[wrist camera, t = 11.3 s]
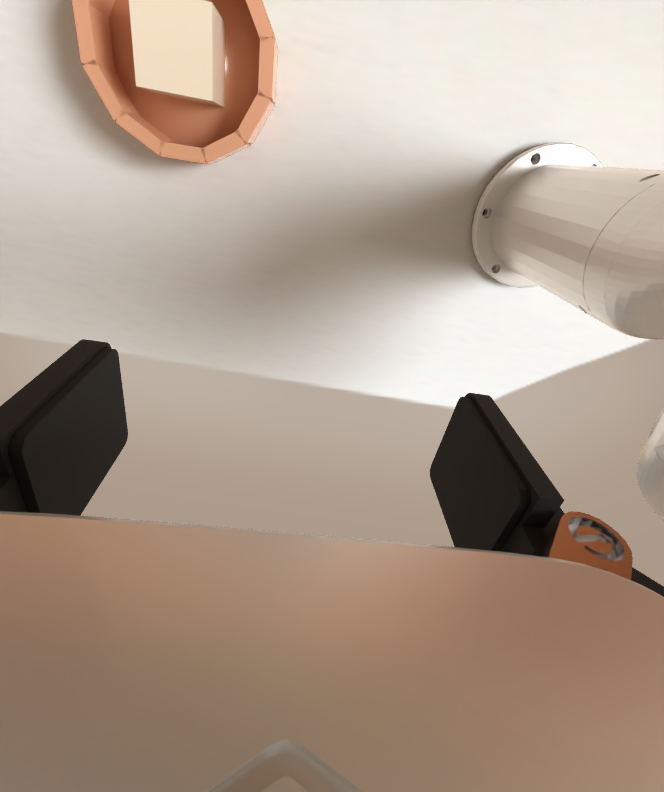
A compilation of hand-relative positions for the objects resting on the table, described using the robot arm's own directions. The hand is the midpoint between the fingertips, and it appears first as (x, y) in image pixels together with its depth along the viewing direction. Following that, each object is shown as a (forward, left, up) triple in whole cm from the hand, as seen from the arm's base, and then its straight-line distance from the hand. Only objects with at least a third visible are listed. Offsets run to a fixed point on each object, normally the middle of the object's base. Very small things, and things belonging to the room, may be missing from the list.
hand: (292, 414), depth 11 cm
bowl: (+9, -11, -31) cm, 34 cm away
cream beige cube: (+9, -11, -30) cm, 33 cm away
